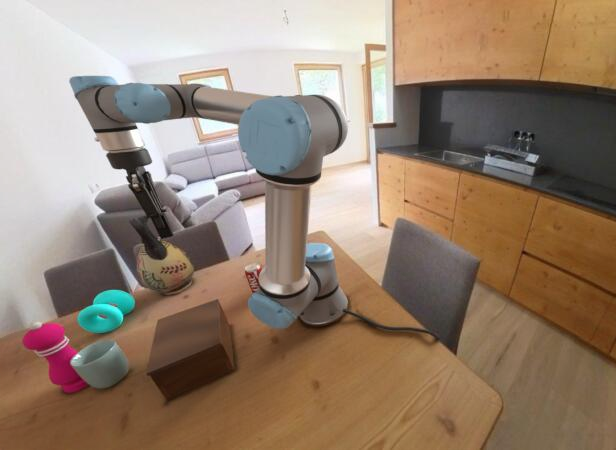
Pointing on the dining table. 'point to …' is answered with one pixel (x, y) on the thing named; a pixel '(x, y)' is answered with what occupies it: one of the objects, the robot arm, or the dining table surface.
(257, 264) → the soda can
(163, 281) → the ceramic jug
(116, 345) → the cup
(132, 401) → the dining table surface
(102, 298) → the donuts
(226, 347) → the chest
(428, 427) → the dining table surface
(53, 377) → the pepper mill
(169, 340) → the lid
